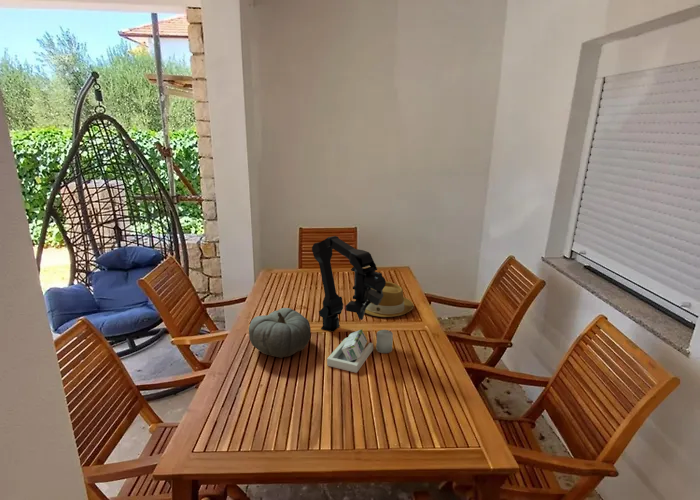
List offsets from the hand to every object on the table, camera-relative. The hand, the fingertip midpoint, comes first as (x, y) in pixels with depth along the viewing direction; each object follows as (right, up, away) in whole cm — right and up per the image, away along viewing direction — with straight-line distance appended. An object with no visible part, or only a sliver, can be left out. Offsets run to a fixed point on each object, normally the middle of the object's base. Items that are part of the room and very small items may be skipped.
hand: (361, 319), depth 166 cm
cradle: (-4, -14, -6) cm, 15 cm away
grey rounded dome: (+9, -12, 0) cm, 15 cm away
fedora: (+13, -1, +39) cm, 41 cm away
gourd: (-32, -12, +1) cm, 35 cm away
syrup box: (-1, -7, +1) cm, 8 cm away
